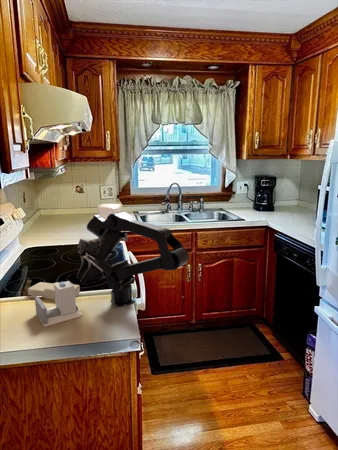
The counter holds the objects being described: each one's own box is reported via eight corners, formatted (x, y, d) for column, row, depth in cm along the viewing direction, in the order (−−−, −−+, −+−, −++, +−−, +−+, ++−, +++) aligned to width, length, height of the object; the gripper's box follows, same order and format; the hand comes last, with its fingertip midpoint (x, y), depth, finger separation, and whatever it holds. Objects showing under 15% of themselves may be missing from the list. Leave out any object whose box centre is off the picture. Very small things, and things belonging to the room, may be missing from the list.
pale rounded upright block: (117, 241, 202) (116, 205, 197) (94, 241, 204) (92, 205, 199) (123, 235, 217) (122, 202, 212) (102, 235, 218) (100, 201, 214)
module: (70, 305, 116) (68, 278, 114) (76, 311, 112) (74, 283, 110) (56, 309, 114) (53, 281, 111) (61, 315, 109) (58, 287, 107)
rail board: (71, 305, 119) (70, 289, 118) (81, 316, 111) (80, 299, 110) (36, 314, 112) (34, 297, 111) (44, 326, 104) (42, 308, 103)
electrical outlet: (39, 279, 133) (79, 284, 127) (40, 289, 134) (80, 294, 128) (27, 286, 126) (68, 292, 121) (28, 296, 127) (69, 302, 122)
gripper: (81, 225, 120) (52, 260, 117) (102, 235, 105) (70, 276, 102) (103, 243, 126) (76, 276, 123) (125, 255, 111) (96, 294, 108)
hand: (79, 280), depth 113 cm, fingers open, 4 cm apart
